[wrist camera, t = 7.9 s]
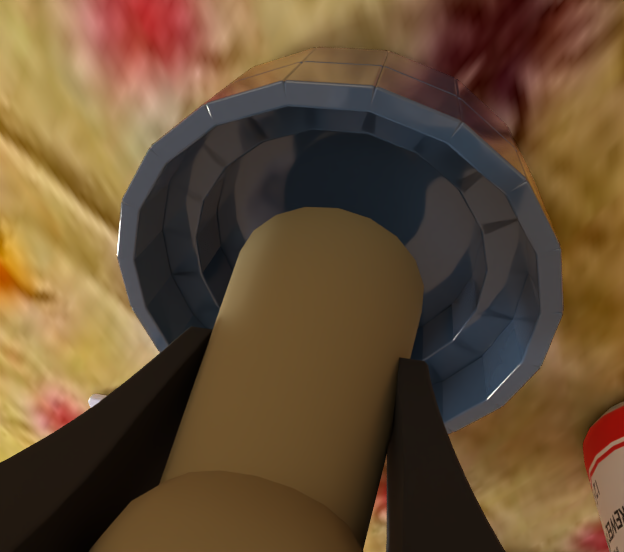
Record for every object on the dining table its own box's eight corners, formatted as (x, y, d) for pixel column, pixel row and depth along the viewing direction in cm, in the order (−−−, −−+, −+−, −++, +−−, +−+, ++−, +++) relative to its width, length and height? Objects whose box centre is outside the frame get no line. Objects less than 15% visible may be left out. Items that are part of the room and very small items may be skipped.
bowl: (486, 381, 21) (497, 474, 17) (202, 338, 23) (159, 413, 19) (592, 56, 13) (651, 102, 10) (149, 35, 15) (63, 67, 12)
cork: (412, 194, 13) (366, 769, 4) (432, 359, 16) (431, 877, 7) (210, 217, 15) (-129, 653, 6) (264, 361, 18) (101, 781, 9)
